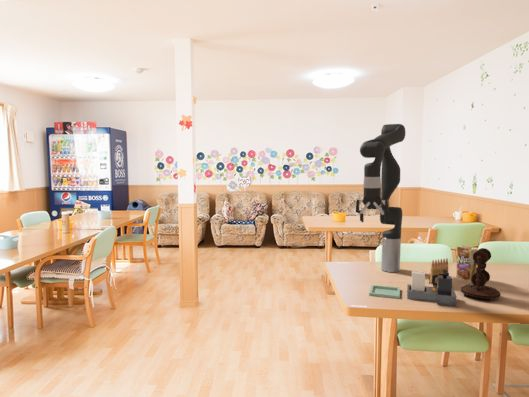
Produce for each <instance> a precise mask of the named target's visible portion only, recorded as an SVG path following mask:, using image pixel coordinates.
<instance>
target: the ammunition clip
mask: <svg viewBox="0 0 529 397" xmlns="http://www.w3.org/2000/svg"><path fill="white" fill-rule="evenodd" d="M443 269H446V270H447V276H450V274H449V273H450V272H449V260H448V257H446V258H443V259H442V258H440V259H432V261H431V265H430V273H429V279H428V280H429V281H428V282H429V283H428V284H429V285H432V287H437V280H438V275H441V276H443Z"/></svg>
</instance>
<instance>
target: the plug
mask: <svg viewBox="0 0 529 397" xmlns="http://www.w3.org/2000/svg"><path fill="white" fill-rule="evenodd" d="M425 284H426V272H425V271H422V270H420V271H419V270H411V284H410V285H411V290H414V291H425V286H426V285H425Z"/></svg>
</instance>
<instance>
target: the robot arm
mask: <svg viewBox="0 0 529 397" xmlns="http://www.w3.org/2000/svg"><path fill="white" fill-rule="evenodd" d="M405 138H406V128H405V126H404V125H403V124H401V123H390V124H384V125H382V126H381V130H380V135H378V136H376V137H374V138H373V139H369V140H366V141H364V142H362V144H361V145H360V148H359V153H360V155H361V156H362V157H363V158H366V159H370V158H371V159H374V160H373V161H372V162H367V163H365V165H364V169H363V174H364V175H363V199H359V198H358V199H356V204H355V213H358V214H359V221H360V223H364V219H365V217H364V215H365V214H364V212H366V209H367V210H378V212H379V221H380V223H381V224H382V225H390V226H393V225H394V227H392V228H391V229H388V230H383V232H381V234H382V238H381V240H382V241H381V264H380V265H381V268H380V270H382V271H384V272H386V271H387V272H388V273H398V272H401V245H402V243H401V242H402V222H403V209H402V208H401V207H400V206H399V207H398V206H389V200H390V198H391V197H392V195H393V193H394V192H395V191H396V189H397V188H398V186H399V185H400V183H401V167H400V165H399V163H398V161H397V160H396V158H395V156H394V155H393V153H392V151H391V150H392V149H391V146H393V145H396V144H398V143H401V142H403V141H404V140H405ZM361 204H363V205H364V206H363V208H362V209H361V210H360V205H361Z"/></svg>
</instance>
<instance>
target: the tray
mask: <svg viewBox="0 0 529 397" xmlns="http://www.w3.org/2000/svg"><path fill="white" fill-rule="evenodd" d="M368 294H369V295H368V296H371V297H380V298H390V299H398V300H399V299H401V298H400V297H401V296H400V295H401V287H397V286H387V285H377V284H371V285H370V288H369V293H368Z"/></svg>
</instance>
